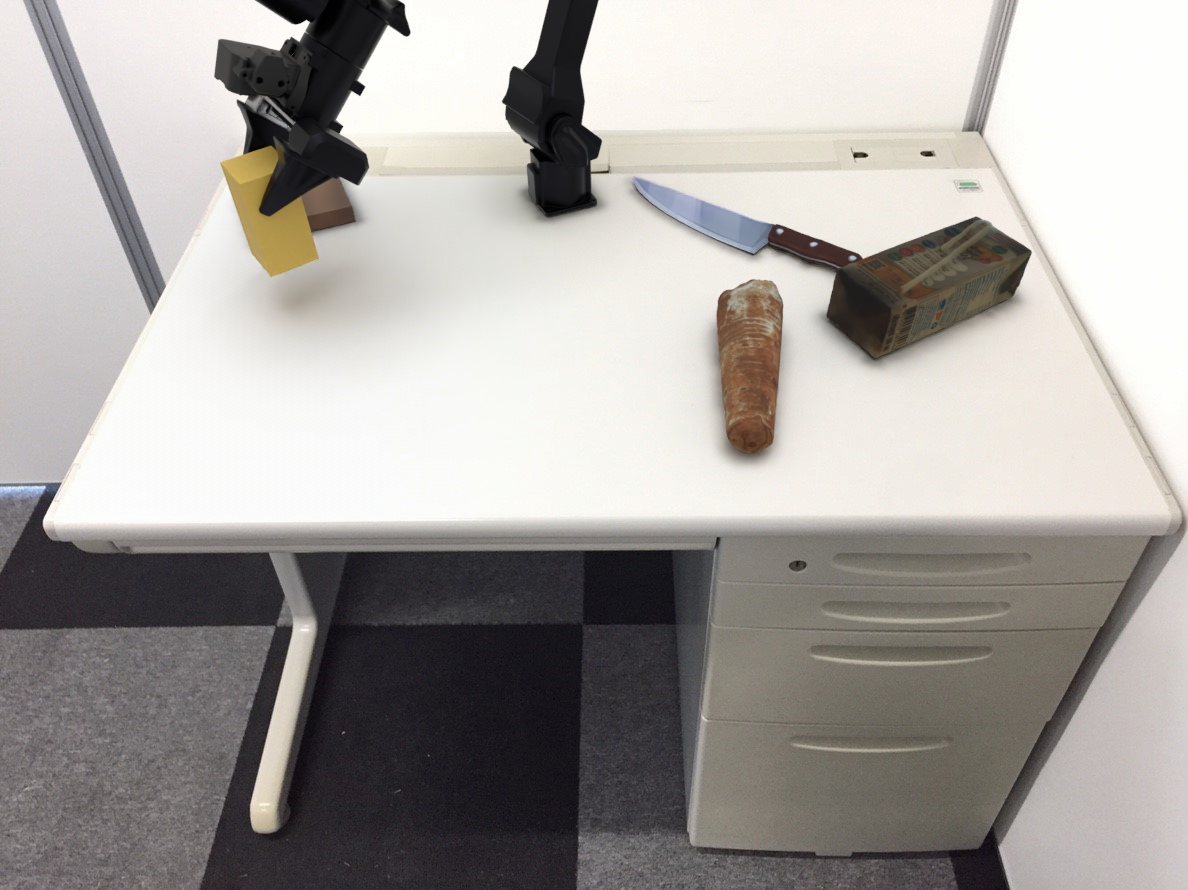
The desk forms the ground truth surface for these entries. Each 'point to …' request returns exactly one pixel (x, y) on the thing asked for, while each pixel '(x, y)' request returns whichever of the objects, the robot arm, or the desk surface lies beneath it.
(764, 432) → the orange-brown tapered rod
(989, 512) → the desk surface
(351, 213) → the cutting board
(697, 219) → the kitchen knife
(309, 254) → the butter
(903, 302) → the beverage carton
